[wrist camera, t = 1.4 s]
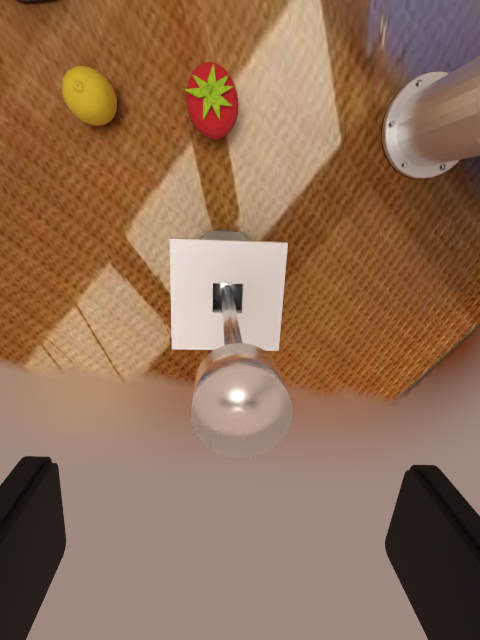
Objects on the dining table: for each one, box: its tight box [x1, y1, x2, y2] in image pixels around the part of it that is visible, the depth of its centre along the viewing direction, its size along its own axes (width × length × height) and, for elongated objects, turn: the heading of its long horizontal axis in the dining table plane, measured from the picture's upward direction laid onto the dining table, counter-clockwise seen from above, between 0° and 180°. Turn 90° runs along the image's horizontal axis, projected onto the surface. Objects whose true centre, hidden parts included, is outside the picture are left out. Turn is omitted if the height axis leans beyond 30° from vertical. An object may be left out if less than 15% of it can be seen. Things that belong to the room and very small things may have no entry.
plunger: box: [191, 283, 293, 458], centre depth 26 cm, size 8×8×24 cm
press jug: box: [170, 230, 288, 351], centre depth 42 cm, size 14×11×17 cm
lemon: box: [62, 66, 117, 126], centre depth 39 cm, size 6×6×8 cm
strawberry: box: [184, 62, 238, 139], centre depth 39 cm, size 6×8×10 cm
